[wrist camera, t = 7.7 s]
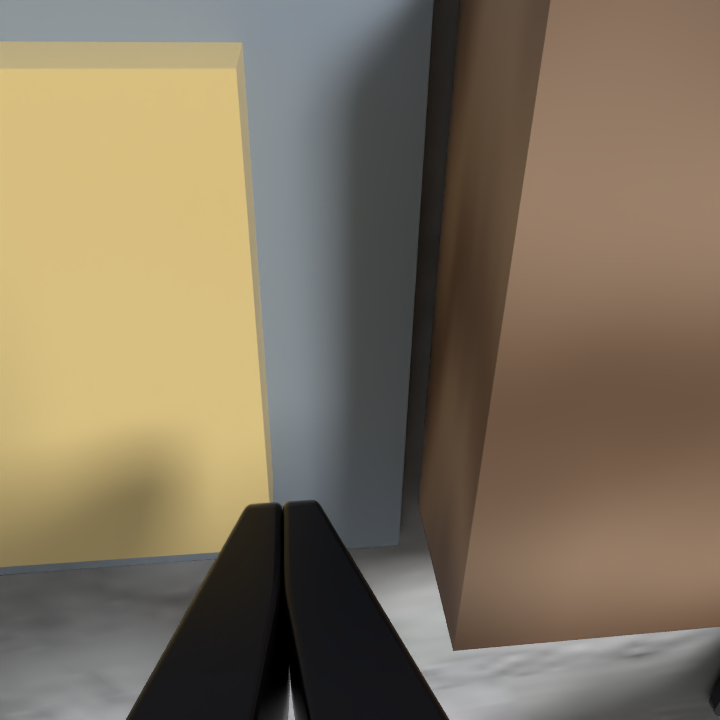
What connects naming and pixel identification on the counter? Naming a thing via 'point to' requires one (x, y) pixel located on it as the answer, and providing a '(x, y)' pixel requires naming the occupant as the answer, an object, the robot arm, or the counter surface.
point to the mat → (311, 225)
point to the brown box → (577, 324)
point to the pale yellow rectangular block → (127, 302)
